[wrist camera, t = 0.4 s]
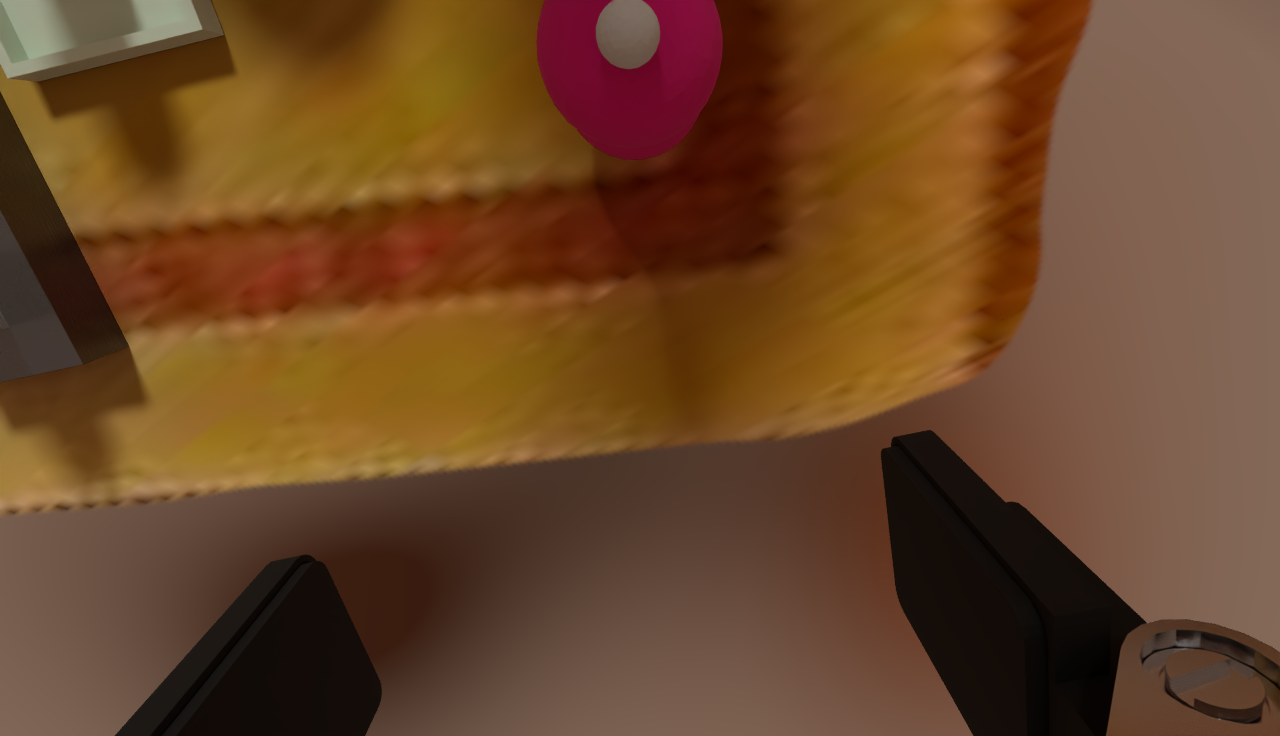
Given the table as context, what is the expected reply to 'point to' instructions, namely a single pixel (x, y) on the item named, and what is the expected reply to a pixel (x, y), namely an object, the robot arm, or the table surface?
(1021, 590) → the robot arm
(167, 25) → the tray
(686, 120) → the pepper mill
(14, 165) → the grey piece
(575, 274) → the table surface
